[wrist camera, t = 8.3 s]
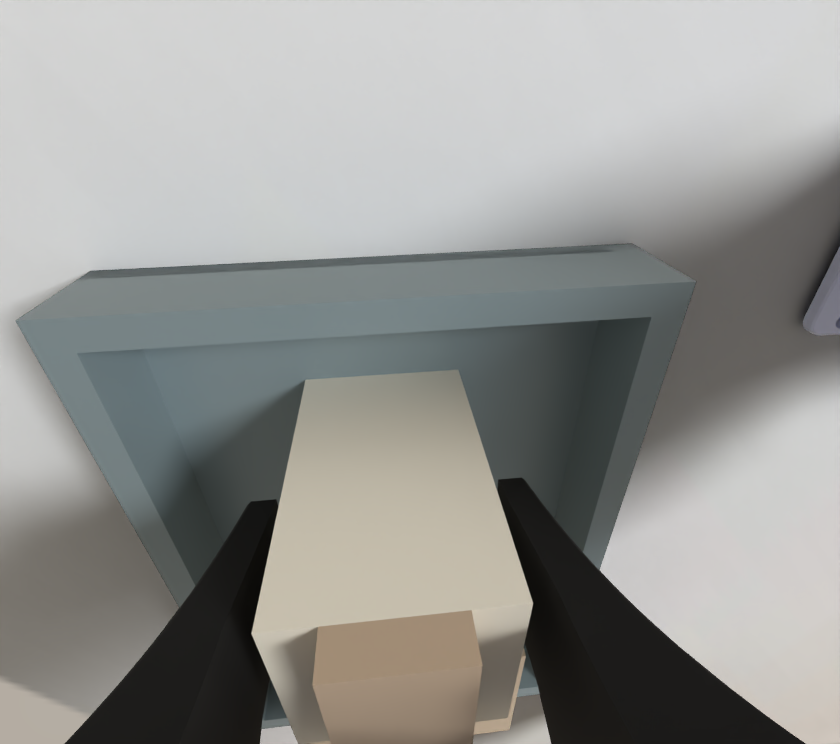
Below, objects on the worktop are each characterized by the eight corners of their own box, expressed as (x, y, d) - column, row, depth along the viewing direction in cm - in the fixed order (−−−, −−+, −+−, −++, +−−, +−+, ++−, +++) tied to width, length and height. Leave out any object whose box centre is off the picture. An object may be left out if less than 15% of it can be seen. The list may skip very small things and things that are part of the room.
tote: (632, 243, 12) (696, 281, 10) (538, 629, 23) (558, 691, 20) (90, 270, 11) (15, 320, 9) (262, 661, 22) (249, 730, 19)
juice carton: (458, 369, 13) (550, 657, 6) (454, 476, 15) (518, 766, 9) (305, 379, 13) (238, 693, 6) (325, 487, 15) (293, 796, 8)
